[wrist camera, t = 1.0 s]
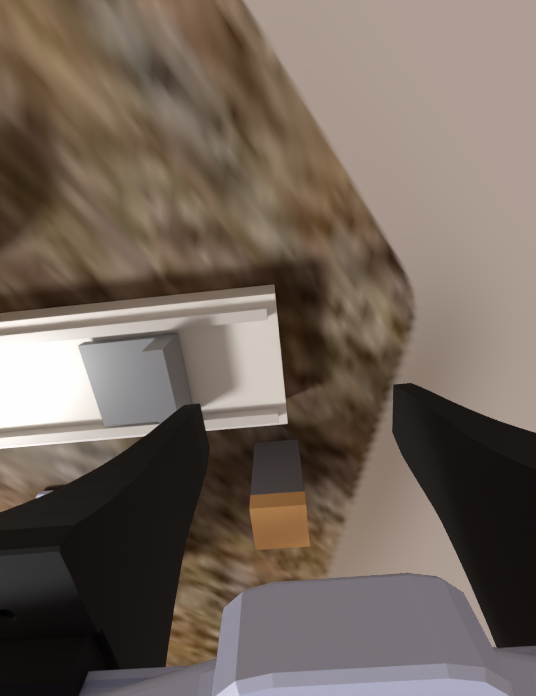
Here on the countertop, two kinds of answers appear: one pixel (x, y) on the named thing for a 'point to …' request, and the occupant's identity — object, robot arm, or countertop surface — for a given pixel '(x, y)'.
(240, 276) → the countertop surface
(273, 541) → the orange and grey block
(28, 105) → the countertop surface
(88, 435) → the socket board
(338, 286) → the countertop surface
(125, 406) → the shutter
